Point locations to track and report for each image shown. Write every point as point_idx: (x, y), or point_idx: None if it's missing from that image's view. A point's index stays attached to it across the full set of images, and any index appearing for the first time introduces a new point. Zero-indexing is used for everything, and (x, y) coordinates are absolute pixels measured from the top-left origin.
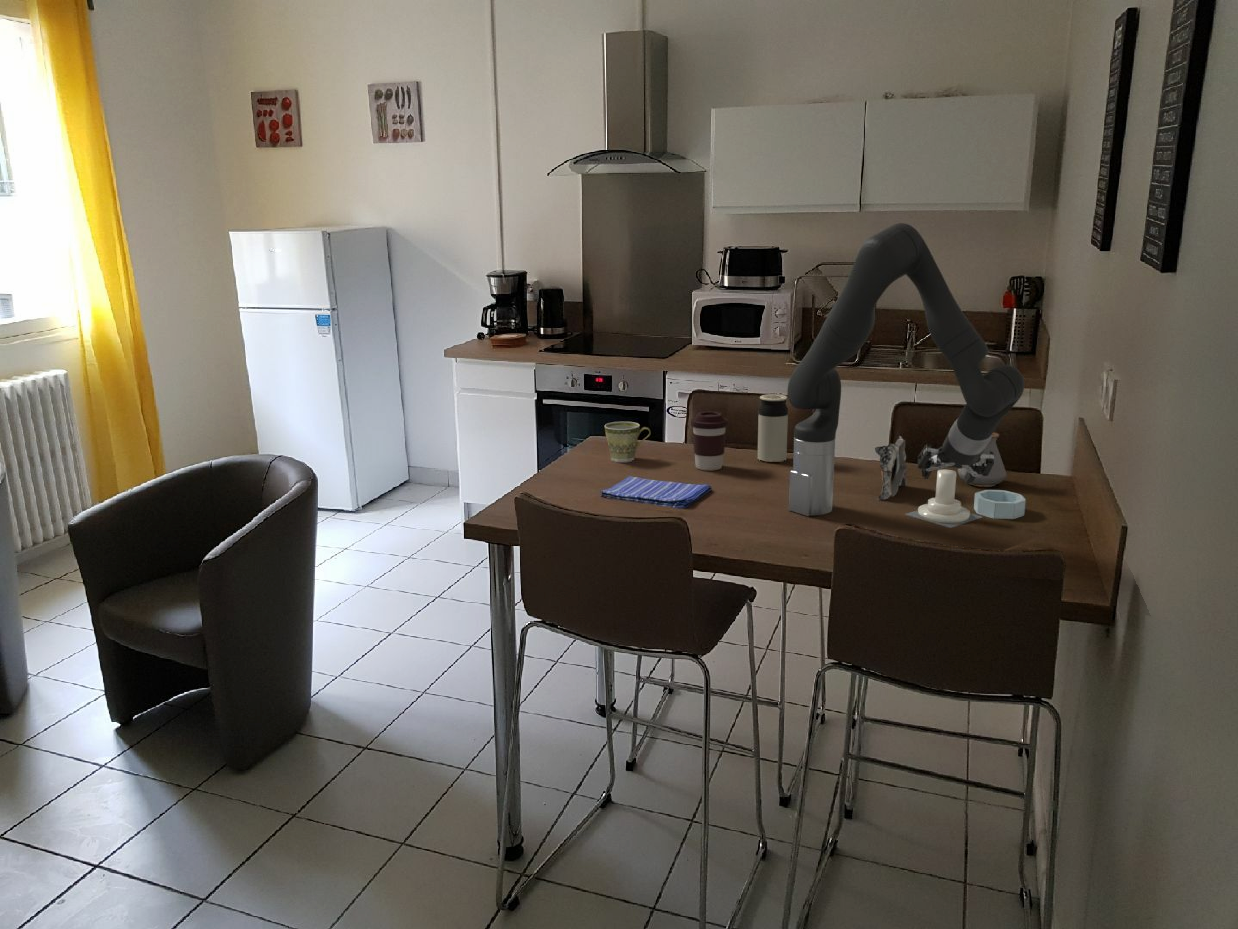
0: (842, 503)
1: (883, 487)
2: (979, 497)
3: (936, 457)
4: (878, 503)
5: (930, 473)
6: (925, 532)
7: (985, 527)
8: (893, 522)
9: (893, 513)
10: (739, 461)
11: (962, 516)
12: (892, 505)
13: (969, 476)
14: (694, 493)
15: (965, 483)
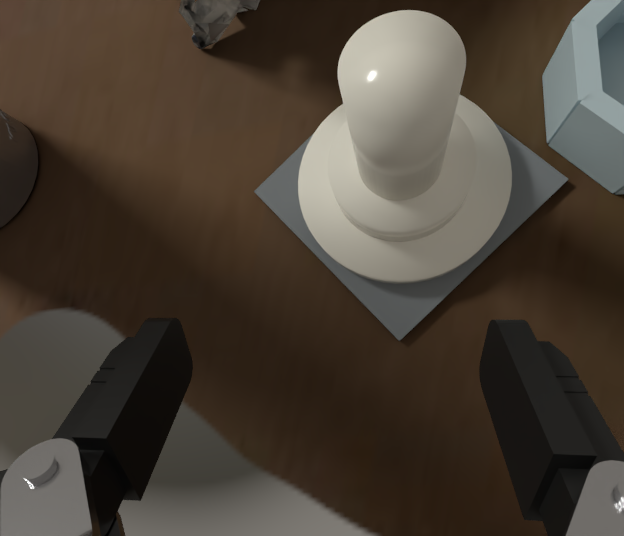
0: (86, 92)
1: (188, 7)
2: (584, 84)
3: None
4: (197, 69)
5: (154, 462)
6: (295, 381)
7: (557, 297)
8: (204, 272)
9: (224, 170)
10: None
11: (466, 249)
12: (239, 81)
13: (517, 491)
14: None
15: (481, 380)
